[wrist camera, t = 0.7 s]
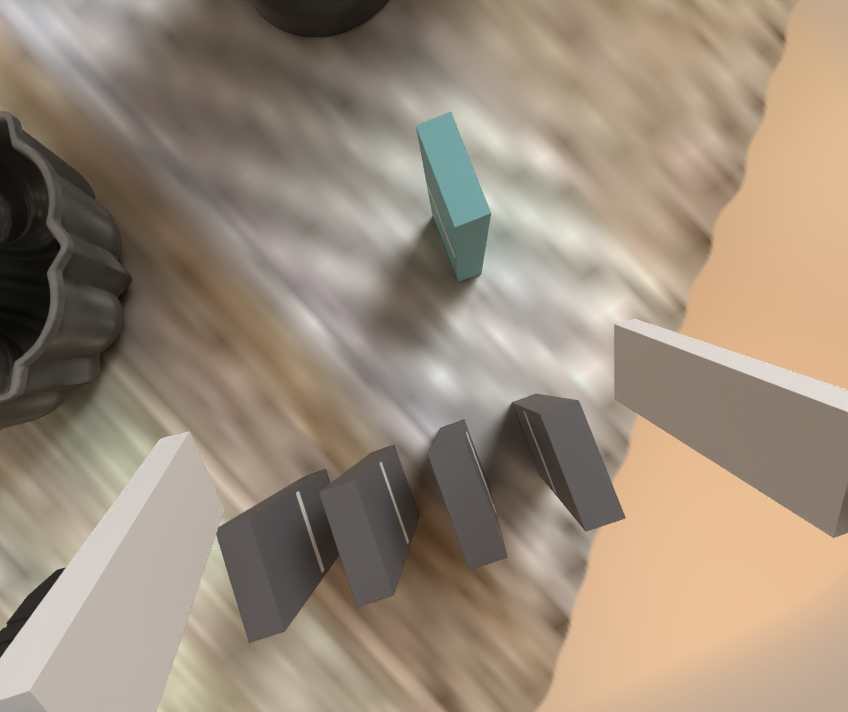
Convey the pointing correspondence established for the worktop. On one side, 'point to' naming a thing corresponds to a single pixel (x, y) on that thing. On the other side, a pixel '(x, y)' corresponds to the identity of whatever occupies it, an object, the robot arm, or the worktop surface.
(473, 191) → the teal tile
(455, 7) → the worktop surface
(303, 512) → the black tile
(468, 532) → the black tile
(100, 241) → the bundt pan
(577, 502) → the black tile
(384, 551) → the black tile
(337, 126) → the worktop surface
